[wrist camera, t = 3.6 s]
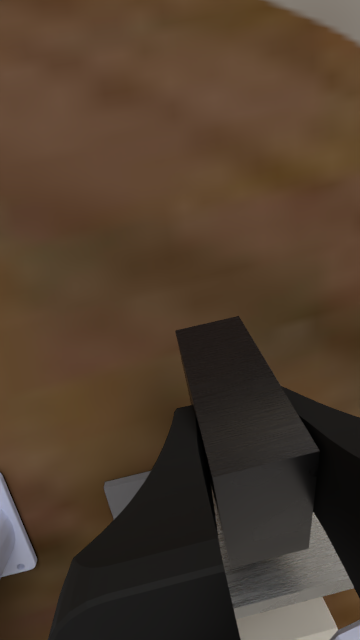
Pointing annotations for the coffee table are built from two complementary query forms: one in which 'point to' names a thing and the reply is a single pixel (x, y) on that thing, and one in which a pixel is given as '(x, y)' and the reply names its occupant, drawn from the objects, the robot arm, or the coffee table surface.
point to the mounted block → (257, 473)
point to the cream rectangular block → (290, 623)
